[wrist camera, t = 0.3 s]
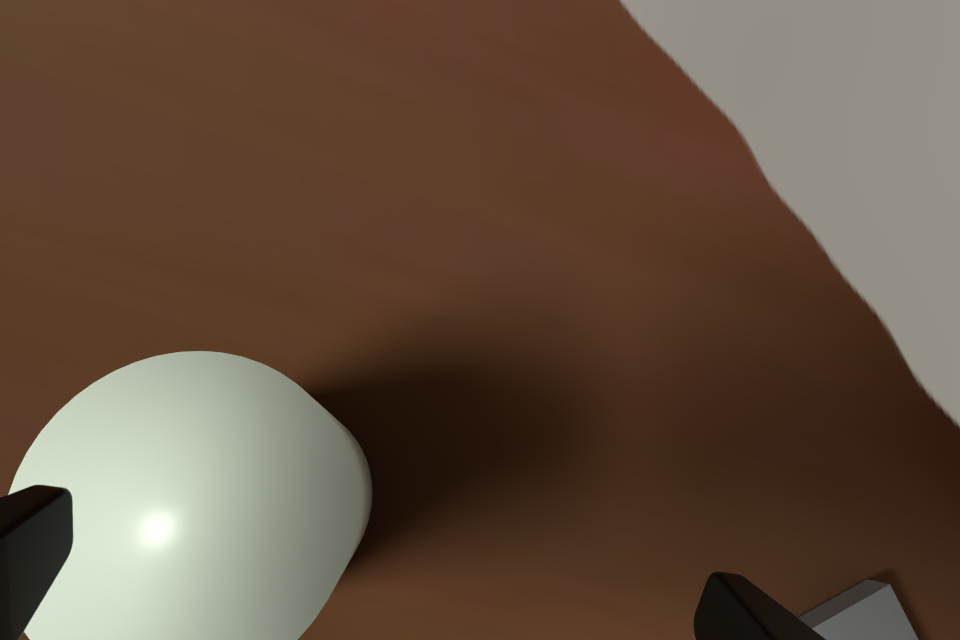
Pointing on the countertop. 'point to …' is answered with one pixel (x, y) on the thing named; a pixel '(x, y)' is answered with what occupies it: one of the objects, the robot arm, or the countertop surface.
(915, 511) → the countertop surface
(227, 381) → the pale green rounded cylinder
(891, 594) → the grey flat plate
